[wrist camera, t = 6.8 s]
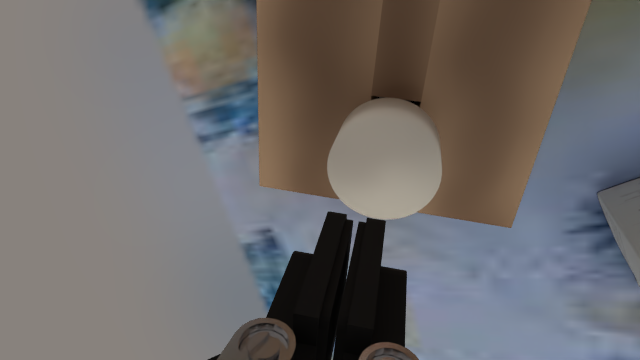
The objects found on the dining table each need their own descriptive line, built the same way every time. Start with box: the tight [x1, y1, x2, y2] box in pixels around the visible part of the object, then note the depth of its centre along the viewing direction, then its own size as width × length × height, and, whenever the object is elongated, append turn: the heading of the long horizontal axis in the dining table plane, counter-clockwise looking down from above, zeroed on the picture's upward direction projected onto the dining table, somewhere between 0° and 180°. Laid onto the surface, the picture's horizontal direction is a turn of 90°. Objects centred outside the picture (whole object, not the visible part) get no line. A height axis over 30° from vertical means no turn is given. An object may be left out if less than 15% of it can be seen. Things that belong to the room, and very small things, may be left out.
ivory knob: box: [327, 98, 442, 219], centre depth 19 cm, size 4×4×6 cm
